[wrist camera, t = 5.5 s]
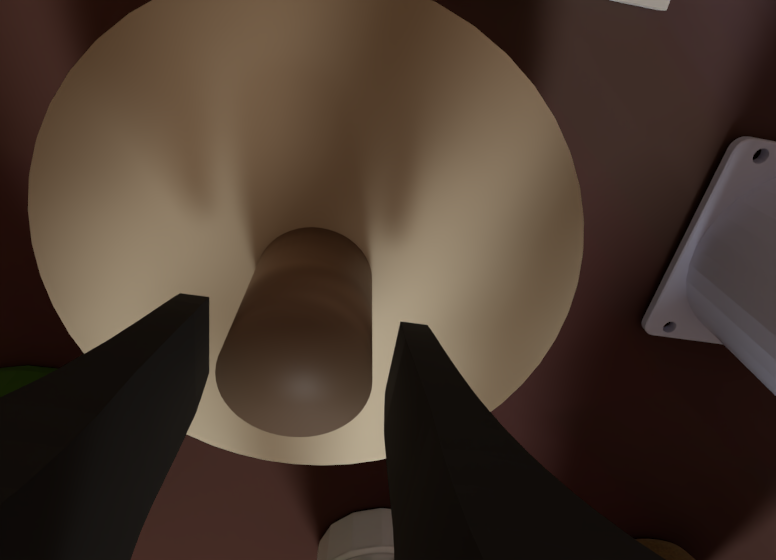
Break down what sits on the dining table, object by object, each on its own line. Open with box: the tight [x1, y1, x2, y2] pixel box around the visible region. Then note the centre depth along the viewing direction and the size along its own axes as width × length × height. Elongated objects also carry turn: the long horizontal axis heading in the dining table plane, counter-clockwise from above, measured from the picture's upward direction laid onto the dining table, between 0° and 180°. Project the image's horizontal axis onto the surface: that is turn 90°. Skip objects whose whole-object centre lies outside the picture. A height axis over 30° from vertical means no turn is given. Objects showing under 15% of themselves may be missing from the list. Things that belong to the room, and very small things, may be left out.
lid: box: [28, 0, 584, 465], centre depth 12 cm, size 14×14×5 cm
